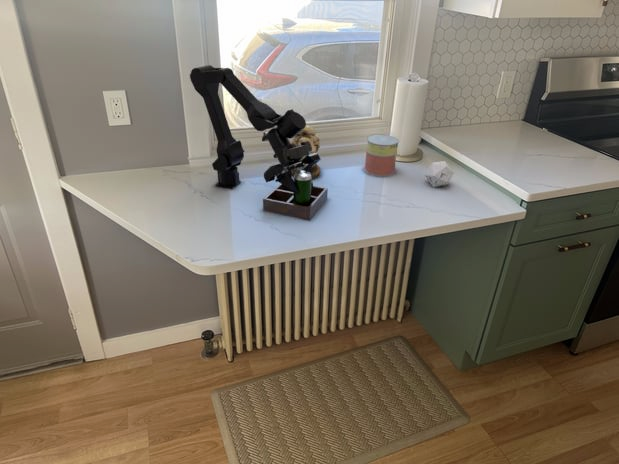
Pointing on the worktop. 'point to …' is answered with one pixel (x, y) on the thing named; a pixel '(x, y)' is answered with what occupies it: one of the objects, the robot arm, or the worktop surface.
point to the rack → (283, 202)
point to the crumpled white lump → (439, 174)
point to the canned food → (381, 155)
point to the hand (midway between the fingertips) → (305, 191)
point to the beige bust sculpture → (311, 136)
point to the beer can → (302, 188)
